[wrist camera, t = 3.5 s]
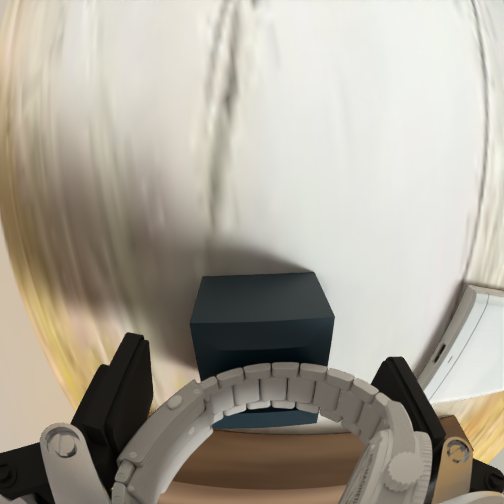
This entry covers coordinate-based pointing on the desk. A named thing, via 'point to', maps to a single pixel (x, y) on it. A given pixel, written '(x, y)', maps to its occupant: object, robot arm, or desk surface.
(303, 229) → the desk surface
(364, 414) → the watch
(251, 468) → the display stand
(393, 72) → the desk surface
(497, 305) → the hard drive
